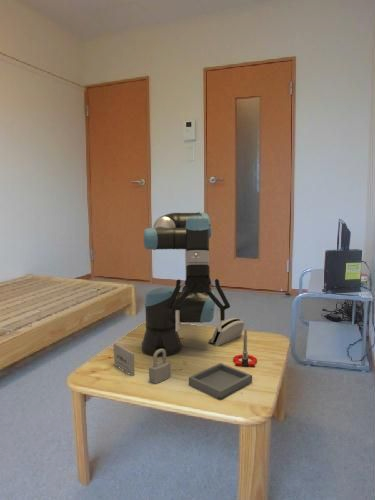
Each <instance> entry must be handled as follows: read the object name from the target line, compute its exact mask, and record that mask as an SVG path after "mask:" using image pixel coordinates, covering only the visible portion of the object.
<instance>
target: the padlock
mask: <svg viewBox="0 0 375 500" xmlns="http://www.w3.org/2000/svg"><path fill="white" fill-rule="evenodd" d="M160 352H162V353H163V356H162V360H160V361H158V359H157V358H158V356H157V355H158V354H159V353H160ZM171 365H172V363H171V361H168V360H167V356H166V351H165V350H164V349H158V350H157V351H156V352H155V353H154V356H152V365H150V366H148V381H149V382H150V383H153V384H156V385H157V384H159V383H161V382H165V381H166V380H167V379H168V378H170V377H171V376H172V375H171V373H172V371H171V370H172V369H171V368H172V366H171Z"/></svg>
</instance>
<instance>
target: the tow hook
mask: <svg viewBox="0 0 375 500" xmlns="http://www.w3.org/2000/svg"><path fill="white" fill-rule="evenodd" d="M243 330H244V331H243V332H244V334H243V348H242V349H243V351H242V354H238V355H233V358H232V361H233V362H234V364H235V365H234V366H238V367H247V368H248V367H250V368H251V367H256V365H255V364H257V363H258V358H257V357H256V356H253V355H250V354H248V335H247V332H248V331H247V329H243ZM240 359H241V360H240ZM249 360H250V361H249Z"/></svg>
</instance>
